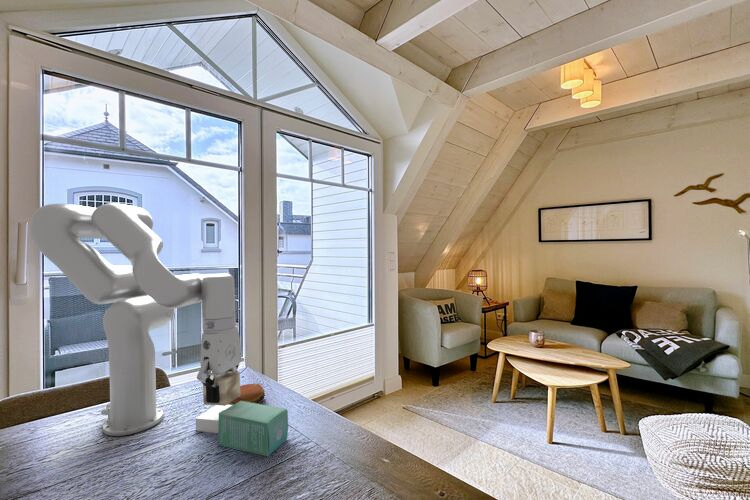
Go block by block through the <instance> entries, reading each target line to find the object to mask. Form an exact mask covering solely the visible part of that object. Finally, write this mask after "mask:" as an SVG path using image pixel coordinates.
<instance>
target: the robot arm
mask: <svg viewBox="0 0 750 500" xmlns="http://www.w3.org/2000/svg"><path fill="white" fill-rule="evenodd" d="M153 226H154V221H153V218H152V215H150V213H149V212H148V211H147V210H145V209H144V208H143V207H138V206H135V205H129V204H123V203H115V202H114V203H113V202H112V203H110V202H109V203H105V204H101V205H100V206H98V207H92V206H84V205H78V204H70V203H51V204H50V203H49V204H45V205H43V206H40V207H39V208H37V209H36V210H35V212H33V214H32V216H31V218H30V225H29V227H30V228H29V229H30V230H29V231H30V236H31V239H32V242H33V243H34V245H35V247H36V248H37V249H38V250H39V252H41V254H43V256H44V257H45V258H47V259H48V260H49V261H50V262H51V263H52V264H53V265H55V267H57V268H58V269H59V270H60V271H61V272H62V273H63V275H64V276H65V277H66V278H67V279H68V280H69V282H71V283H72V285H74V287H75V288H76V289H77V290H78V291H79V292H80V293H81V294H82V296H84V297H85V298H86V299H87V300H88V301H89V302H91V303H92V304H95V305H107V304H109V305H110V304H111V305H110V306H108V307H107V309H106V310H105V312H104V315H103V318H102V326H103V331H104V333H105V336H106V342H107V347H108V364H109V365H108V367H109V402H108V404H107V405H106V407H105V408H103V409H101V415H105V416H107V421H106V422H104V424H103V426H102V433H103V434H105V435H107V436H111V437H119V436H121V437H122V436H126V435H127V436H128V435H132V434H137V433H140V432H143V431H145V430H147V429H150V428H152V427H154V426H156V425H158V424H159V423H160V422H161V421H162V420H163V418H164V415H165V414H164V413H165V412H164V410H163V409H161V408H159V407H157V382H156V381H157V380H156V379H157V377H156V373H157V372H156V371H157V370H156V349H155V344H154V342H153V340H152V338H151V336H150V331H153V330H156V329H158V328H162V327H163V326H166V325H167V324H168V323H170V321H171V320H172V319H173V318H174V316H175V309H178V308H179V309H180V308H182V307H186V306H191V305H194V304H198V303H201V314H202V316H201V317H202V318H201V319H202V334H201V340H200V352H199V353H200V354H199V355H200V361H199V362H200V368H199V371H198V373H197V375H196V379H197V380H198V381H199V382H200V383H201V384H202V385H203V384H204V387H206V401H207V402H208V403H218V402H219V386H217V382H218V377H219V375H220V374H222V373H224V372H226V371H232V372H239V371H238V369H239V366H240V363H241V362H242V358H243V357H242V348H241V347H242V346H241V338H240V334H239V328H238V326H237V321H236V320H237V319H236V296H235V295H236V294H235V291H236V290H235V289H236V288H235V278H234V276H233V275H232V274H230V273H229V274H228V273H216V274H201V273H190V274H187V273H186V274H181V275H179V274H178V275H175V274H174V273H173V272H171V271H170V269H168V268H167V266H165V265H164V264H163V263H162V262H161V260H160V259H159V256H158V255H159V254H160V253H161V252H162V250H163V248H164V243H163V240H162V239H161V238H160V237H159V236H158V235H157V234H156V233H155V232H154V231H153ZM82 239H94V240H95V239H98V240H99V239H100V240H101V239H106V241H108V242H109V243H110V244H112V246H113V247H114V248H116V249H117V250H118V251H119V252H120V253H121V254H122V256H124V257H125V258H126V259H127V260H128V261H129V262H130V263H131V264H130V265H128V264H127V265H126V264H125V265H114V264H111V263H110V262H108V261H107V260H106V259H105V258H104V257H103V256H102V255H101V254H100V252H99V251H98V250H96V248H94V247H92V246H91V245H89V244H87V243H86V242H84V241H83V240H82ZM211 375H214V376H213V380H212V379H210V377H211Z"/></svg>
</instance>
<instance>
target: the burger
mask: <svg viewBox="0 0 750 500" xmlns="http://www.w3.org/2000/svg"><path fill="white" fill-rule="evenodd" d="M240 394H241V395H240V396H239V397H237V398H236V399H235V400H233V401H232V402H230V403H229V404H227V405H234V404H236V403H238V402H239V401H245V402H250V403H256V404H260V403H262V402H263V401H264V399H265V397H266V394H265V390H264V387H263V386H262V385H261V384H259V383H248V384H241V385H240Z"/></svg>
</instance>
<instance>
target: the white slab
mask: <svg viewBox="0 0 750 500" xmlns="http://www.w3.org/2000/svg"><path fill="white" fill-rule="evenodd" d="M230 406H232V405H226V406H220V405H212V407H210V408H209V409H208V410H206V411H204V412H203V413H201V414H199V416H196V417H195V431H196V432H205V433H211V434H219V413H220V412H221V411H223V410H225V409H227V408H229V407H230Z"/></svg>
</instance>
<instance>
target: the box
mask: <svg viewBox="0 0 750 500" xmlns="http://www.w3.org/2000/svg"><path fill="white" fill-rule="evenodd" d="M288 416H289V415H288V409H287V408H284V407H278V406H273V405H267V404H262V403H261V404H260V403H259V404H256V403H250V402H245V401H239V402H238V403H236V404H234V405H232V406H230V407H229V408H227V409H225V410H223V411H221V412H220V413H219V433H218V445H219V446H221V447H226V448H230V449H233V450H237V451H242V452H245V453H251V454H256V455H259V456H264V457H269V456H271V455H272V454H273V452H274V451H276V450H277V449H278V448H279V447H280V446H281V445H283V444H284V443H285V442H286V441H287V439H288V435H289V434H288V432H289V417H288Z"/></svg>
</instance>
